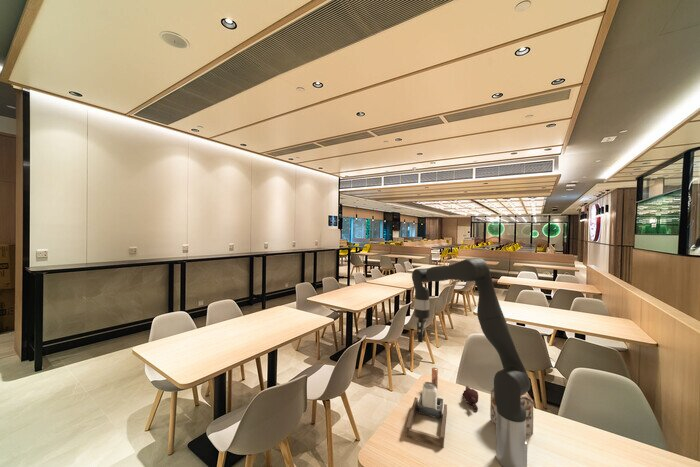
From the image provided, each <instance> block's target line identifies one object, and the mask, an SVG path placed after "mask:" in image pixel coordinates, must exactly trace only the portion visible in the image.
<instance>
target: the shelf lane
mask: <svg viewBox="0 0 700 467" xmlns="http://www.w3.org/2000/svg"><path fill="white" fill-rule="evenodd" d="M418 402H419V400H418V397H414V399H413V403H412V406H411V410H410V413H409V416H408V419H407V423H406V425H405V437H406V438H409V439H412V440H416V441H419V442H422V443H426V444H429V445H431V446H436V447H439V448H442V449H444V446H445V436H446V428H447V426H446V424H447V416H448V415H447V414H448V407H447V405H448V404H445V403H443V409H442V417H441V428H440V436H438V435H434V434H431V433H427V432H424V431H421V430H417V429H413V428H412V427H413V425H414V424H413V423H414V420H415V416H416V413H417V406H418Z"/></svg>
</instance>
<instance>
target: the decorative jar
mask: <svg viewBox="0 0 700 467" xmlns="http://www.w3.org/2000/svg"><path fill="white" fill-rule="evenodd" d="M521 405H522V406H523V407H524V408H525V410H526V436H528V435H532V434H534V401H533V398H532V397H531V396H530V394H529V393H528V392H526V393H525V394H523V395H521ZM489 407H490V412H489V414H490V415H489V416H490V420H491V422H492V423H494V424H495V425H496V422H497V406H496V404H495V400H494V387H492V388H491V390H490V406H489Z"/></svg>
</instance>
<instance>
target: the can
mask: <svg viewBox="0 0 700 467" xmlns="http://www.w3.org/2000/svg"><path fill="white" fill-rule="evenodd" d="M421 392H422V393H421V394H422V406H425V407H428V408H433V409H437V408H438V405H437V398H438V388H437V389H436V385H435V384H434V383H432V381H430V382H429V381H425V382H424V383H423V384H422V390H421ZM437 410H438V409H437Z"/></svg>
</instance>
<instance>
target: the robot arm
mask: <svg viewBox="0 0 700 467" xmlns="http://www.w3.org/2000/svg"><path fill="white" fill-rule="evenodd" d="M411 278H412V279H411V280H412V284H413V288H414V304H413V305H414V311H413V312H414V317H415V318H417V319H418V320H417V322H416V334H417V342H418V343H423V342H424V341H423V339H424V337H425V336H426V328H427V327H426V326H427V319H429V318H430V290H429V287H427V286H424V284H423V283H430V282H445V281H449V280H457V281H463V282H475V285H476V288H477V292H478V302H477V309H476V311H477V312H476V315H477V320H478V322H479V326H480V328H481V331H482V333H483V335H484V337H486V340H488V342H489V343H490V344H491V345H492V346H493V347H494V350H496V352H497V354H498V356H499V359H500V362H501V365H502V368H503V369H500V370H498V371H497V372H496V373H495V374H494V377H493V388H494V400H495V404H496V406H497V422H496V424H495V428H496V429H495V431H496V433H495V434H496V435H495V438H496V439H495V453H496V454H495V457H496V460H497V461H498V463H499V464H500V465H501V466H502V467H528V442H527V435H526V410H525V408H524V407H523V406H522V405H521V395H523V394H525V393H526V392H527V393H528V392H529V391H530V388H531V381H530V378H529V375H528V372H527V370H526V368H525V366H524V363H523V362H522V360H521V357H520V355H519V354H518V351H517V349H516V346H515V343H514V340H513V338H512V335H511V332H510V329H509V327H508V324H507V321H506V318H505V315H504V313H503V311H502V308H501V305H500V301H499V299H498V296H497V293H496V290H495V286H494V283H493V278H492V275H491V271H490V267H489V265H488V264H487V261H486V260H484V259H482V258H481V257H473V258H472V257H471V258H465V259H463V260H460V261H458V262H455V263H452V264H448V265H437V266H431V267H428V268H416V269H414V270H413V271H412V274H411Z"/></svg>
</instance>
